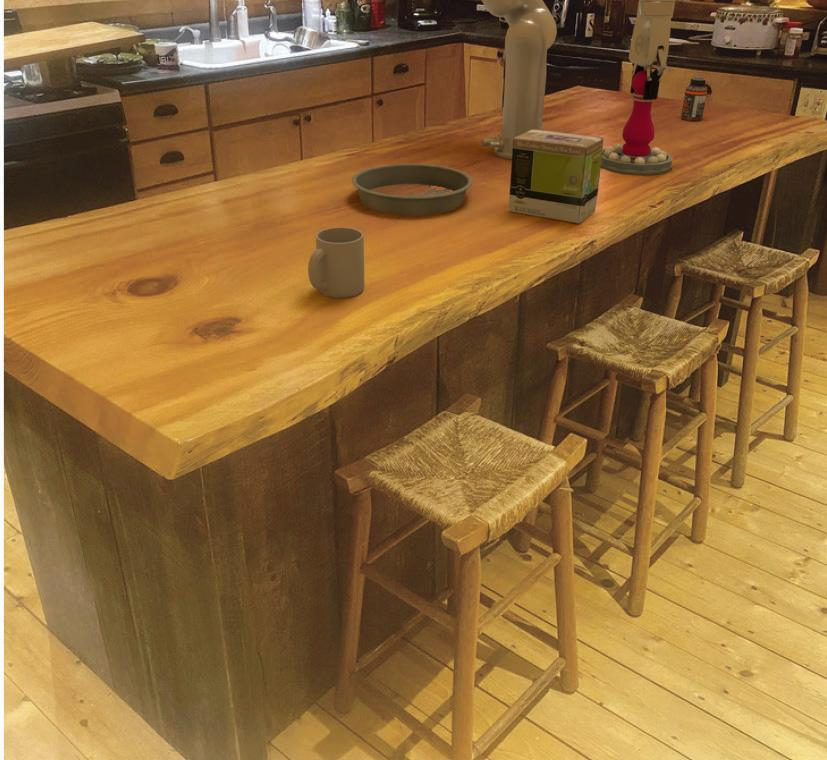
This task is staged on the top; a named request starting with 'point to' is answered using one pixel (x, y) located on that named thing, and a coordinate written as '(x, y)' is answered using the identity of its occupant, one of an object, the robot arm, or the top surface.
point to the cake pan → (412, 175)
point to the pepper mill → (639, 121)
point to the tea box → (555, 175)
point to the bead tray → (636, 167)
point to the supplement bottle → (694, 100)
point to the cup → (338, 262)
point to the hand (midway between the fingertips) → (643, 95)
